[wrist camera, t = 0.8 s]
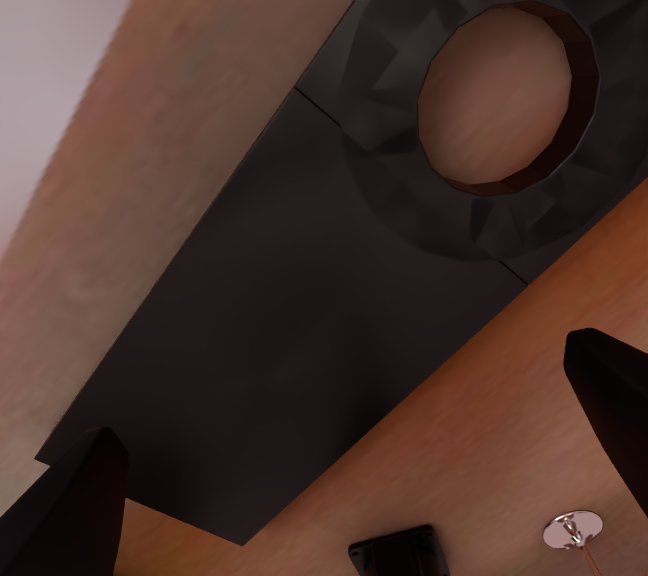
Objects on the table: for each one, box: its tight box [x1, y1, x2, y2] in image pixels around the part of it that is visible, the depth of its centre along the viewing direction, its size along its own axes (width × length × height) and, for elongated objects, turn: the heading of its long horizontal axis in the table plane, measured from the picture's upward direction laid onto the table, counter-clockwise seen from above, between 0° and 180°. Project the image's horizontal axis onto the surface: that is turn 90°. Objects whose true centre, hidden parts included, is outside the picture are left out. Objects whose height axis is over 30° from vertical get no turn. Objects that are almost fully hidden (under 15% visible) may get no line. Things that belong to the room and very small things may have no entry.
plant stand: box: [34, 0, 648, 546], centre depth 22 cm, size 36×14×2 cm, turn 141°
